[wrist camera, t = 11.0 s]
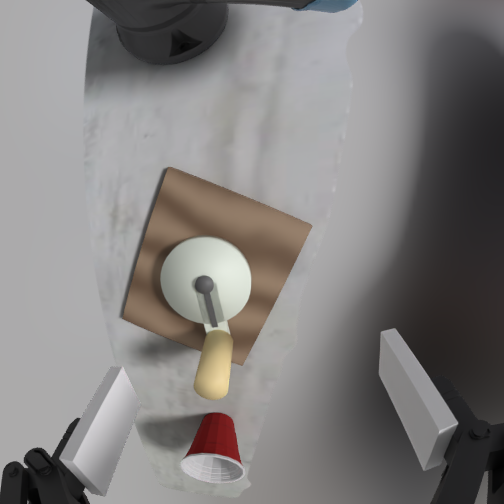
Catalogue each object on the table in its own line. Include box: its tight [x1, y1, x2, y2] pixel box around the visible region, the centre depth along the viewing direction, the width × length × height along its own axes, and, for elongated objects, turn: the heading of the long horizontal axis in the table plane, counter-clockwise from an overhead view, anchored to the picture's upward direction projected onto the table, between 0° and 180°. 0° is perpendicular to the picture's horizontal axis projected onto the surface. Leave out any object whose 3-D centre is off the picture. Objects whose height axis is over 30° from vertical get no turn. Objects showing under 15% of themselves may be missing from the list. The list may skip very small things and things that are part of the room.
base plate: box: [122, 167, 312, 366], centre depth 43 cm, size 24×20×1 cm
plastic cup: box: [180, 413, 245, 483], centre depth 47 cm, size 11×11×12 cm
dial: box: [160, 235, 251, 400], centre depth 38 cm, size 17×12×12 cm
